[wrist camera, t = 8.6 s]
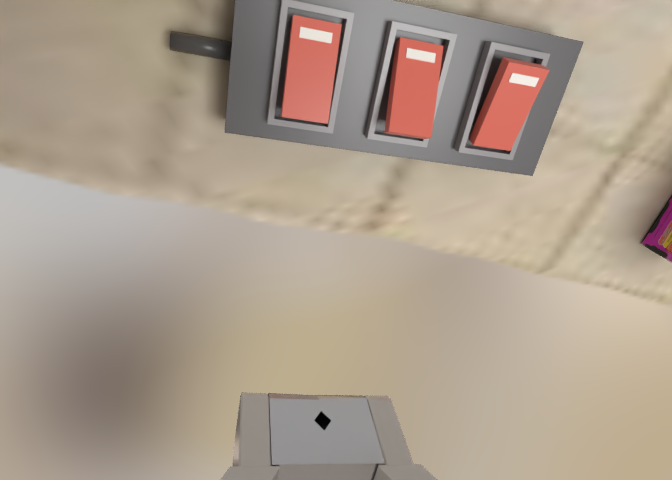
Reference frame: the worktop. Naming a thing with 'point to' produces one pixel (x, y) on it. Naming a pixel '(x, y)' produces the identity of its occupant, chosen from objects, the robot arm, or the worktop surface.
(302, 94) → the rocker
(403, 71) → the rocker
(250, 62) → the rocker switch panel
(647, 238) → the candy bar box
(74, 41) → the worktop surface
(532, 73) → the rocker
